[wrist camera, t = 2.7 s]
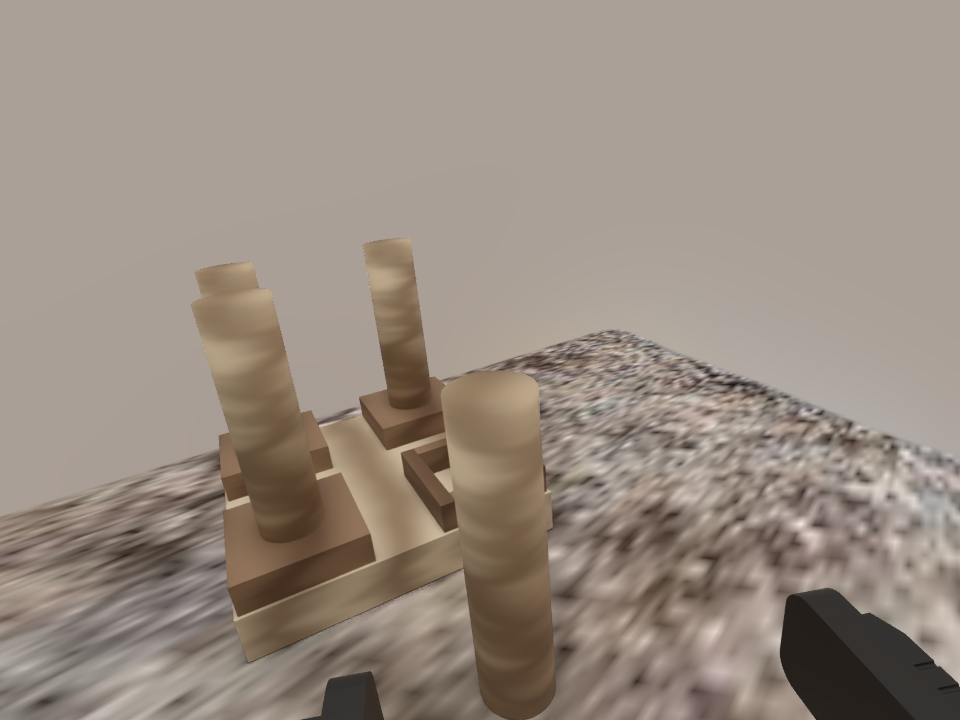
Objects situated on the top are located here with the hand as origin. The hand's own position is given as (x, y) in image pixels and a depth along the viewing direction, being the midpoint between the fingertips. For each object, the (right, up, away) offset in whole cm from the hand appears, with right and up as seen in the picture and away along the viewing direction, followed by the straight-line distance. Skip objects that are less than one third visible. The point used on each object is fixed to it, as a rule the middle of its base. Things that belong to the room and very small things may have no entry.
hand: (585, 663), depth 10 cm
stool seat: (-10, -6, +31) cm, 33 cm away
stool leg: (0, -10, +16) cm, 19 cm away
